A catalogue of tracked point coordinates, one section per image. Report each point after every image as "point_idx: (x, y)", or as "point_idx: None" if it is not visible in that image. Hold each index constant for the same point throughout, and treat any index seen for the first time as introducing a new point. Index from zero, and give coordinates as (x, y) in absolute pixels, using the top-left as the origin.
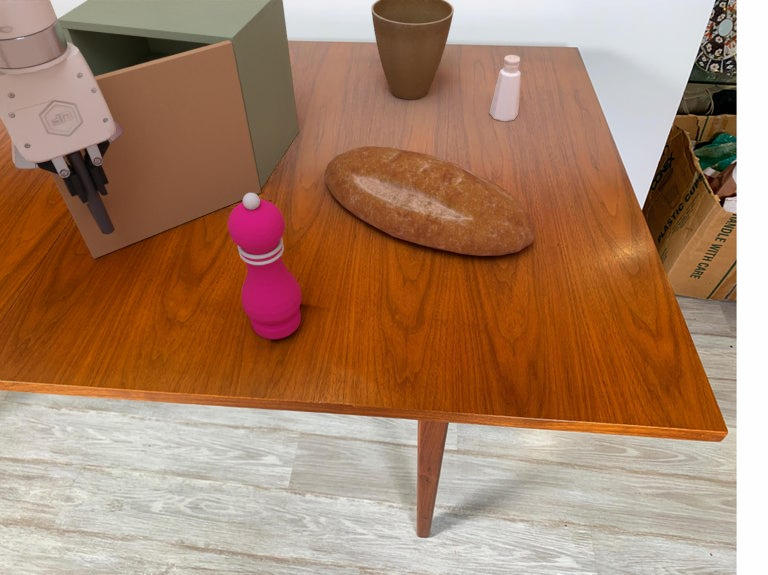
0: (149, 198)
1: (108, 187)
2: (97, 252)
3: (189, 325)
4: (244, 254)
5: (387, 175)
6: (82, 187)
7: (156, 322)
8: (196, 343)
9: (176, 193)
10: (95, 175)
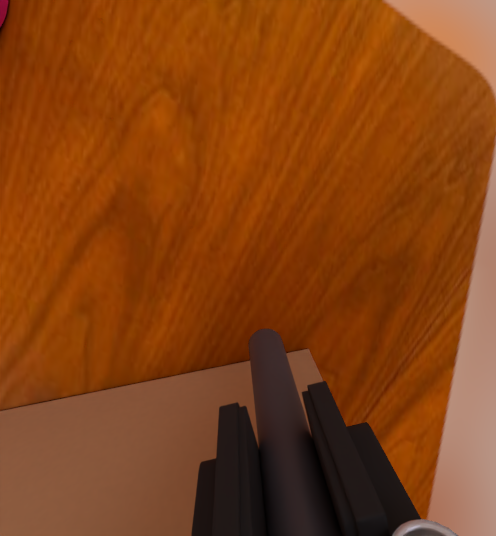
0: (154, 441)
1: None
2: (299, 356)
3: (152, 70)
4: None
5: None
6: (319, 443)
7: (218, 114)
8: (143, 3)
9: (93, 443)
10: (238, 500)
